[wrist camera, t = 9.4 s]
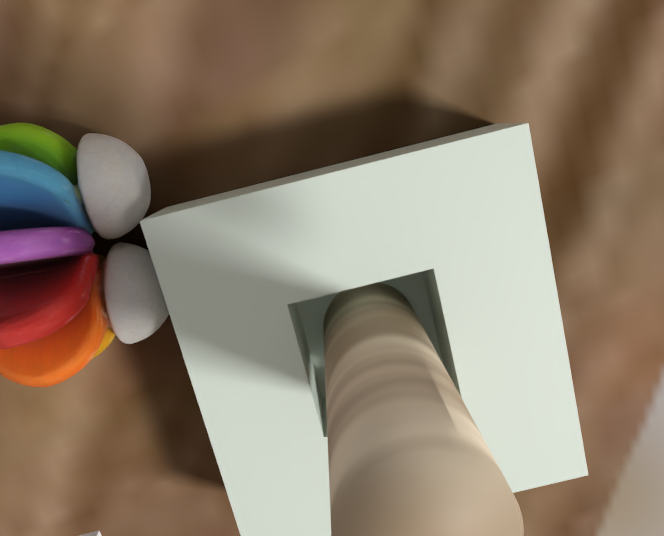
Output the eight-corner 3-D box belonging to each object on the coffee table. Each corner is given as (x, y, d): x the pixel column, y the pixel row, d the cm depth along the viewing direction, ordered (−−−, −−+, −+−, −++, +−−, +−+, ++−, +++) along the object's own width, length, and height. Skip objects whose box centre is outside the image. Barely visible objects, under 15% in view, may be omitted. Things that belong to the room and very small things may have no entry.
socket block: (166, 206, 25) (139, 221, 22) (495, 123, 25) (528, 123, 21) (256, 497, 29) (247, 555, 25) (550, 427, 28) (588, 475, 24)
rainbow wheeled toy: (-3, 360, 27) (-115, 443, 20) (-63, 137, 25) (-214, 140, 18) (188, 335, 27) (144, 408, 20) (145, 109, 25) (78, 102, 18)
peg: (313, 294, 26) (310, 477, 12) (404, 271, 26) (504, 431, 12) (335, 379, 27) (357, 638, 13) (424, 358, 27) (538, 597, 13)
